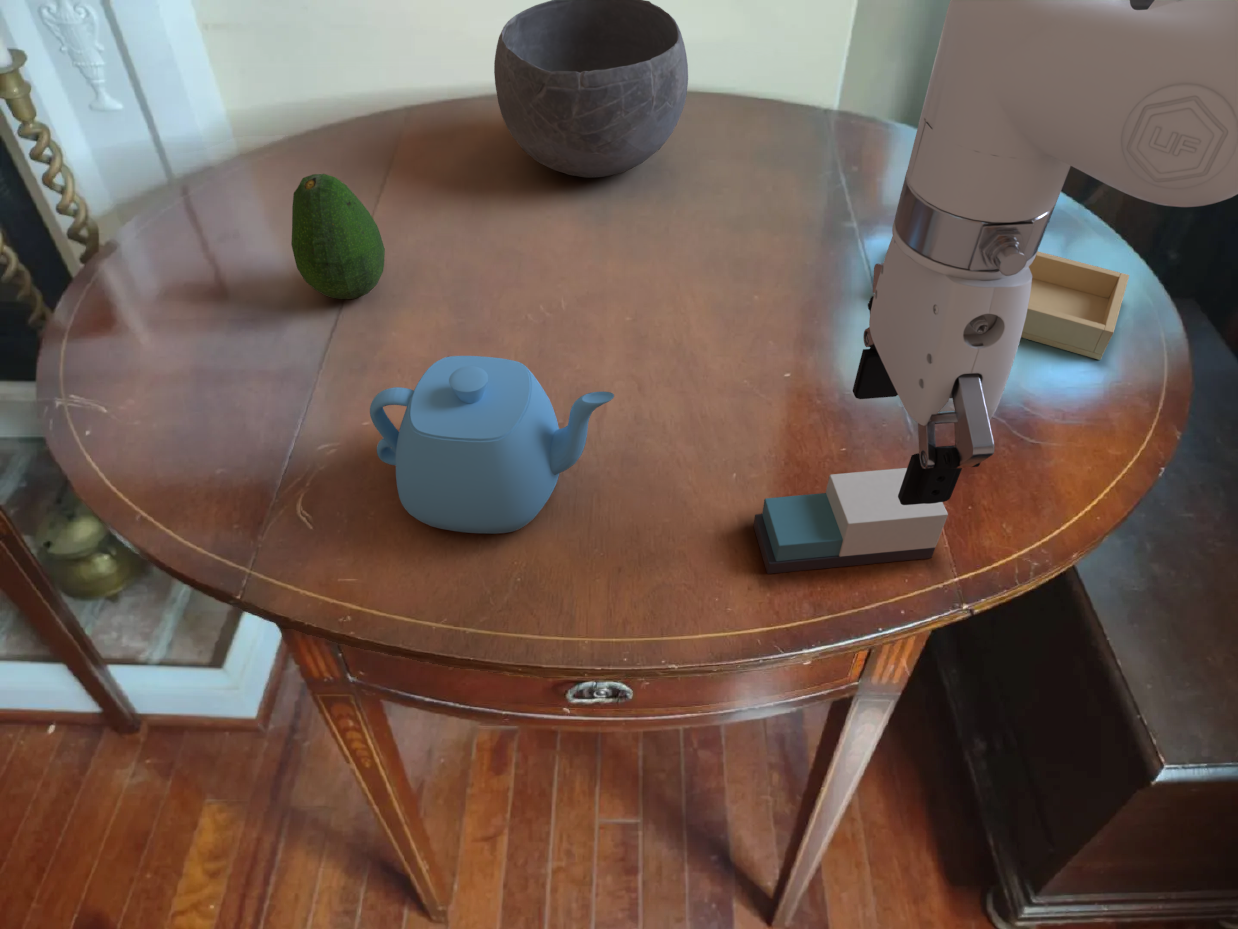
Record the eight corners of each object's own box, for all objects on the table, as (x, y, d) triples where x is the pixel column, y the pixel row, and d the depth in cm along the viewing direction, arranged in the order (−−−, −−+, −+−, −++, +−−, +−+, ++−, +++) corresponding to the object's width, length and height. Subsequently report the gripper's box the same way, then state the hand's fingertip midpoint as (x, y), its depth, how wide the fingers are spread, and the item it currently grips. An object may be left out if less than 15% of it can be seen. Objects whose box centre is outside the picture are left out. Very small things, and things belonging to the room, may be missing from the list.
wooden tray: (1116, 302, 88) (1129, 274, 86) (1100, 360, 83) (1113, 332, 80) (921, 249, 94) (928, 222, 92) (892, 300, 89) (899, 272, 86)
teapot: (602, 453, 60) (326, 431, 61) (604, 558, 67) (359, 536, 69) (624, 330, 68) (382, 313, 70) (624, 436, 76) (406, 419, 77)
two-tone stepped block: (910, 510, 71) (925, 465, 67) (931, 558, 67) (948, 514, 64) (752, 524, 70) (759, 480, 66) (767, 574, 66) (775, 530, 63)
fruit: (316, 270, 92) (284, 155, 84) (397, 268, 92) (374, 154, 84) (299, 319, 87) (263, 202, 78) (385, 318, 87) (359, 201, 78)
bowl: (505, 120, 114) (493, -11, 103) (674, 116, 114) (680, -15, 104) (500, 211, 100) (485, 70, 89) (693, 205, 100) (702, 64, 89)
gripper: (1116, 311, 44) (1004, 542, 56) (977, 132, 56) (909, 356, 68) (962, 322, 43) (882, 553, 56) (853, 139, 55) (808, 363, 68)
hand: (897, 444), depth 62 cm, fingers open, 9 cm apart
